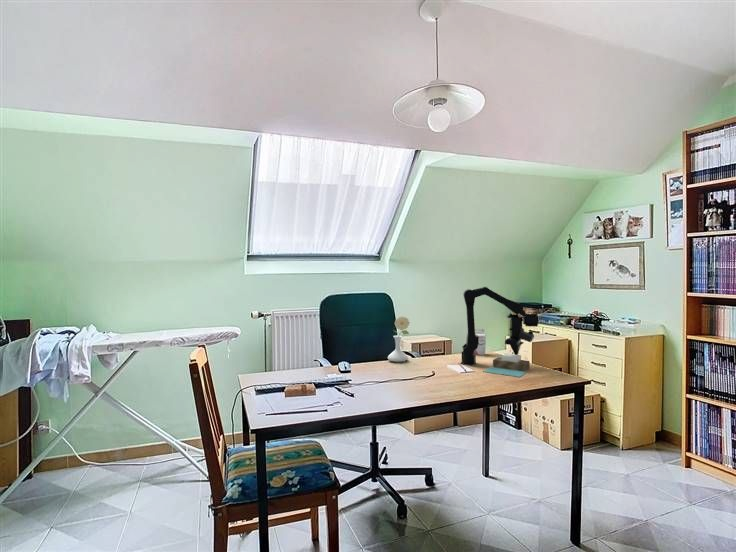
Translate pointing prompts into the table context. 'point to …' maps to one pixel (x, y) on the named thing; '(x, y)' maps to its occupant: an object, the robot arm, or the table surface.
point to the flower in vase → (397, 353)
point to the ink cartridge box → (480, 342)
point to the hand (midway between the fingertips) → (516, 355)
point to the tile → (511, 357)
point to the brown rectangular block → (511, 364)
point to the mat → (505, 371)
